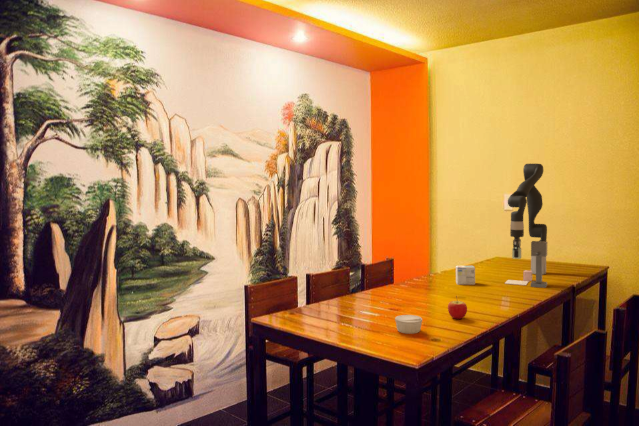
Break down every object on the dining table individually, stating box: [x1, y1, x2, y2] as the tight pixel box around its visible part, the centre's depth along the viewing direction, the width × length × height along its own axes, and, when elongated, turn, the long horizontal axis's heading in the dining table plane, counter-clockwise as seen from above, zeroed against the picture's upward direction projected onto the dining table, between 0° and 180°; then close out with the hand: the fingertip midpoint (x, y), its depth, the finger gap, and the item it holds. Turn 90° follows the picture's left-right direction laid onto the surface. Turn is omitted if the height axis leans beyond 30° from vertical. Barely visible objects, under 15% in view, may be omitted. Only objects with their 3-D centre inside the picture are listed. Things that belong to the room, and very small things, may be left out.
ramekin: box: [394, 314, 423, 335], centre depth 208 cm, size 11×11×5 cm
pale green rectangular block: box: [511, 247, 522, 260], centre depth 304 cm, size 4×4×6 cm
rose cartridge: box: [522, 269, 533, 282], centre depth 311 cm, size 4×4×6 cm
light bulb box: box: [455, 265, 476, 286], centre depth 304 cm, size 11×7×11 cm, turn 84°
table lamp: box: [530, 240, 548, 289], centre depth 293 cm, size 10×8×26 cm
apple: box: [447, 295, 468, 320], centre depth 226 cm, size 8×8×10 cm
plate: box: [504, 279, 530, 286], centre depth 305 cm, size 12×12×1 cm
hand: (516, 256), depth 304 cm, fingers closed on pale green rectangular block, 4 cm apart
